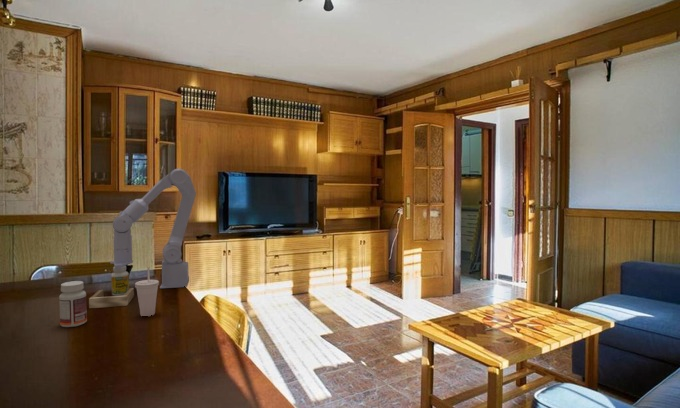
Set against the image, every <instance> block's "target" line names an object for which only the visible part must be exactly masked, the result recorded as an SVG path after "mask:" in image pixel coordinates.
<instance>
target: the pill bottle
mask: <svg viewBox="0 0 680 408" xmlns="http://www.w3.org/2000/svg"><path fill="white" fill-rule="evenodd" d="M84 288H85V285H84V281H81V280H74V281H71V280H70V281H66V282H63V283H61V284H60V292H62V293H61V294H60V295H59V296H58V300H59V302H58V303H59V325H60V326H61V327H62V328H74V327H78V326H79V327H80V326H82V325H83V324H85V323H87V322H88V310H87V308H88V307H87V292H86V290H83V289H84Z"/></svg>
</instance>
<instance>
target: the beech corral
mask: <svg viewBox="0 0 680 408" xmlns="http://www.w3.org/2000/svg"><path fill="white" fill-rule="evenodd" d="M134 297H135V287H129V290H128V291H127V292H126V293H125V294H124V295H120V296H114V295H111V296H104V289H98V290H97V291H96V292H95V293H94V294H93V295H92V296H90V297H88V307H89V309H100V308H101V309H102V308H110V307H111V308H112V307H125V306H129V304H130V302H132V300H133V299H134Z"/></svg>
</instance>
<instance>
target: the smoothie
mask: <svg viewBox="0 0 680 408" xmlns="http://www.w3.org/2000/svg"><path fill="white" fill-rule="evenodd" d="M150 270H151V269H150V266H148V267H147V279H143V280H140V281H136V282H135V283H134V288H135V289H136V294H137V295H136V296H137V299H138V300H137V301H138V306H139V314H140V316H141V317H142V316H148V317H151V315H152V316H154V315H155V313H156V305H157V297H158V296H157V295H158V286H159V285H160V281H159V280H157V279H151V278H150V277H151V276H150V275H151V273H150V272H151V271H150Z"/></svg>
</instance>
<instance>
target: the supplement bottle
mask: <svg viewBox="0 0 680 408" xmlns="http://www.w3.org/2000/svg"><path fill="white" fill-rule="evenodd" d="M112 271H113V272H112V273H111V276H110V277H111V278H110V280H111V281H110V282H111V296H123V295H124V294H125V293H126V292H127V291H128V290H129V289H130V275H129V273H128V272H127V271H126V266H122V270H118V271H115V266H113V267H112Z"/></svg>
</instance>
